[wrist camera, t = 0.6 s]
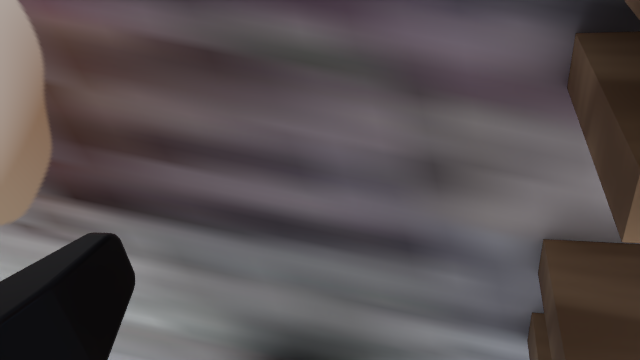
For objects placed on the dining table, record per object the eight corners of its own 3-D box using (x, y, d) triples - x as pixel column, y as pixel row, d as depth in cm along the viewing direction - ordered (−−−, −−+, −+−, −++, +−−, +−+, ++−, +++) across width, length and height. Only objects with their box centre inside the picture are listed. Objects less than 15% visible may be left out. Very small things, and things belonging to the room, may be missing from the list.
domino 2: (679, 282, 23) (767, 482, 16) (537, 273, 24) (566, 454, 18) (691, 247, 22) (792, 444, 15) (543, 239, 23) (576, 418, 17)
